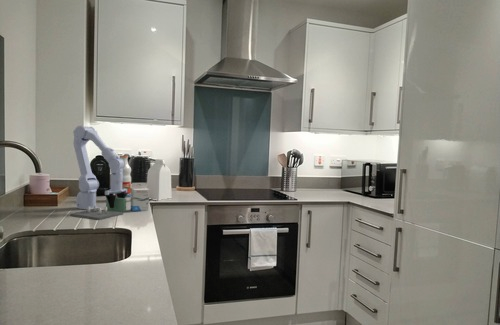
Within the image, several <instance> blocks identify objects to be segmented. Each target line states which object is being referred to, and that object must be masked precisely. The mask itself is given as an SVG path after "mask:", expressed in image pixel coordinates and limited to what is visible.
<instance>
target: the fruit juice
mask: <svg viewBox="0 0 500 325" xmlns="http://www.w3.org/2000/svg"><path fill="white" fill-rule="evenodd" d="M119 158H121V159H123V160H124V162H125V166H124V168H123V177H122V189H124V188H125V189H127V192H125V193H127V195H126V197H125V199H126V202H131V189H132V176H131V173H132V168H131V166H130V165H129V161H128V158H129V156H128V155H119ZM114 195H116V198H117V194H114Z"/></svg>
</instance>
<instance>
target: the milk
mask: <svg viewBox="0 0 500 325" xmlns="http://www.w3.org/2000/svg"><path fill="white" fill-rule="evenodd" d="M146 183H147V185H146V188H147V189H149V198H151V199H157V200H161V199H167V198H172V195H173V194H172V172H171V169H170V167H168V165H166V162H165V159H159V158H156V159H155V161H154V162H153V164H152V165H151V166H150V167H149V169H148V170H147V178H146Z"/></svg>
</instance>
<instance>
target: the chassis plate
mask: <svg viewBox="0 0 500 325" xmlns="http://www.w3.org/2000/svg"><path fill="white" fill-rule="evenodd" d="M96 207H97V205H96V206H94V209H90V207H88V210H83V211H82V210H81V211H78V212H73V213H72V212H71V213H70V214H69V215H70V217H76V218H84V219H90V220H98V221H100V220H105V219H108V218H109V219H110V218H113V217H118V216H122V215H124V212H119V211H111V210H107V207H106V206H104V209H102V208H101V207H99V208H96Z"/></svg>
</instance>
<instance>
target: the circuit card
mask: <svg viewBox="0 0 500 325" xmlns="http://www.w3.org/2000/svg"><path fill="white" fill-rule="evenodd" d="M105 198H106V197H105ZM105 203H106V204H105V207H107V210H108V211H115V212H123V213H126V212H127V201H126V199H125V198H115V202H114V208H110V206H109V202H108V200H107V198H106V199H105Z"/></svg>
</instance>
